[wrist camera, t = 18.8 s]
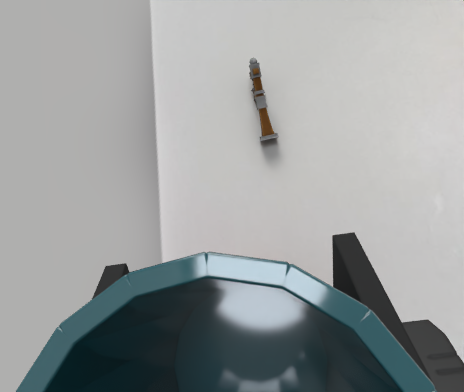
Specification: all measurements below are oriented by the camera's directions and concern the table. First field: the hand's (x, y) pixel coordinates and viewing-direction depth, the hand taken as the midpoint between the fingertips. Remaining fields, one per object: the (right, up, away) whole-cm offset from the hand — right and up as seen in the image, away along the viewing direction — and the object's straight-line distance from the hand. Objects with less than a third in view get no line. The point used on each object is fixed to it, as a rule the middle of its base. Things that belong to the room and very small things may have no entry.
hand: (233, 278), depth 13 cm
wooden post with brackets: (+3, +12, +25) cm, 28 cm away
